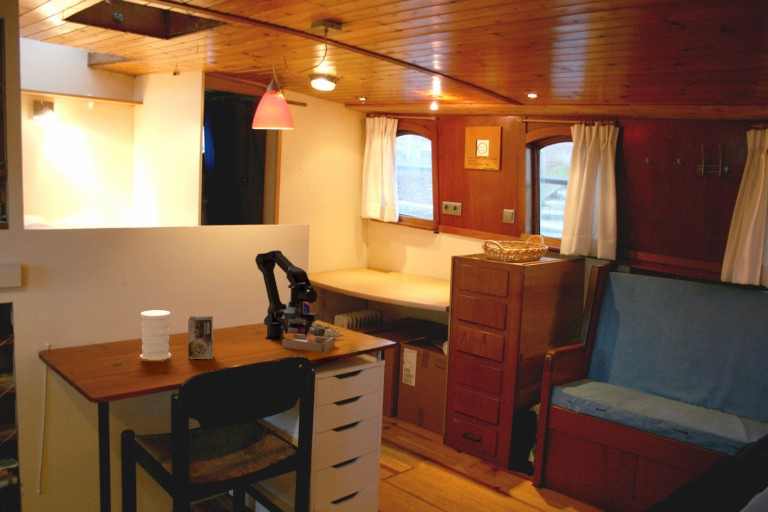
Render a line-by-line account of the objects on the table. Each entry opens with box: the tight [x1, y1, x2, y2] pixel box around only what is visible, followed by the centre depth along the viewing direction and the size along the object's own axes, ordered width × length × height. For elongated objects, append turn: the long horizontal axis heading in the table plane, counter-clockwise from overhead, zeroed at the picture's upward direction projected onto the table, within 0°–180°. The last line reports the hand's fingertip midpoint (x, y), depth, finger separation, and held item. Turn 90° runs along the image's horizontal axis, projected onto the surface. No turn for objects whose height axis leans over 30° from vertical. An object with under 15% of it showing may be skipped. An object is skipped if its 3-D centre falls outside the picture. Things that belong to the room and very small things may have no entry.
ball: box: [306, 333, 316, 343], centre depth 282 cm, size 4×4×4 cm
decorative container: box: [139, 309, 172, 360], centre depth 255 cm, size 12×12×18 cm
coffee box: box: [187, 315, 214, 360], centre depth 258 cm, size 9×6×16 cm
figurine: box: [303, 322, 343, 339], centre depth 301 cm, size 20×6×17 cm
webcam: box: [285, 299, 311, 333], centre depth 313 cm, size 13×13×15 cm
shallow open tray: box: [281, 333, 336, 353], centre depth 282 cm, size 19×12×4 cm, turn 72°
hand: (296, 334), depth 284 cm, fingers open, 9 cm apart
